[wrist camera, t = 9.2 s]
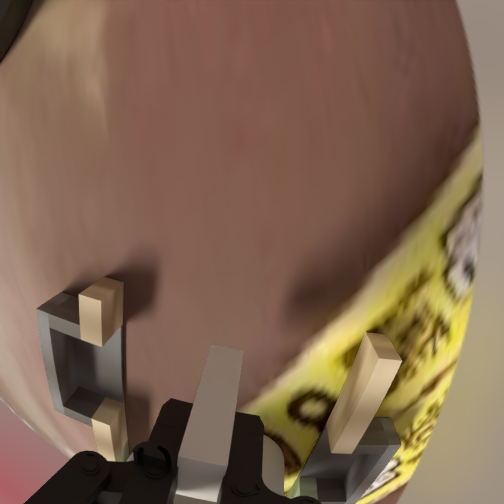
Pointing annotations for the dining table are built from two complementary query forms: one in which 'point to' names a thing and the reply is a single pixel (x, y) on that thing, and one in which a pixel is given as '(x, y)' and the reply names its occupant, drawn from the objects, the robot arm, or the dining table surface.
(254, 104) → the dining table surface
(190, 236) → the dining table surface
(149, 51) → the dining table surface
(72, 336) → the grey-green u-shaped bracket
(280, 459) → the mug
